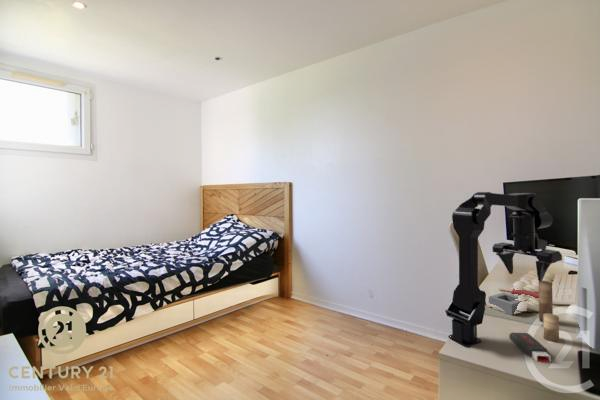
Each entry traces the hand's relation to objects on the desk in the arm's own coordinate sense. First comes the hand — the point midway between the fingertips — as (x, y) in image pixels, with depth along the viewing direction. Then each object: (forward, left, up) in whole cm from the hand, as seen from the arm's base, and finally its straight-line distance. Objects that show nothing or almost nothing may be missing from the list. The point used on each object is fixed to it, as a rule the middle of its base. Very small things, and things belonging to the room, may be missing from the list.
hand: (525, 277), depth 102 cm
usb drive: (-17, -12, -15) cm, 26 cm away
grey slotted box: (+4, +8, -15) cm, 17 cm away
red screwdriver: (+22, +16, -15) cm, 31 cm away
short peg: (-6, -11, -15) cm, 19 cm away
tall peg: (+5, -3, -15) cm, 16 cm away
